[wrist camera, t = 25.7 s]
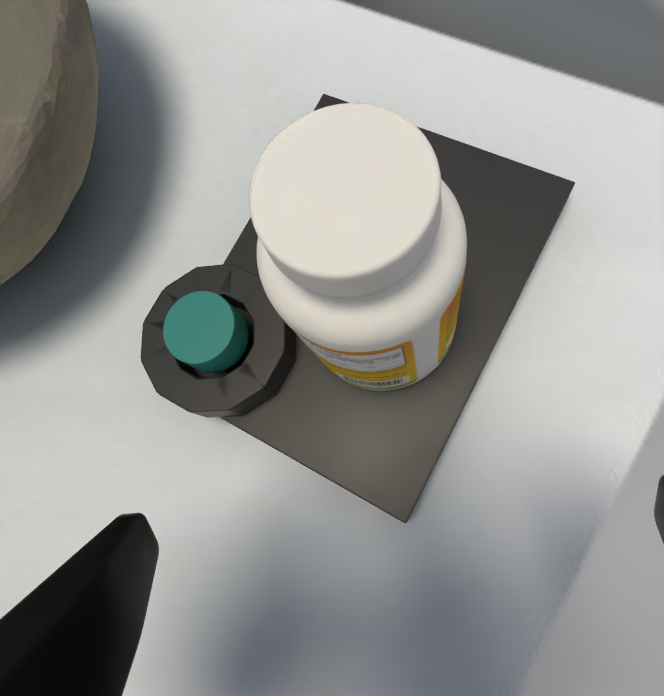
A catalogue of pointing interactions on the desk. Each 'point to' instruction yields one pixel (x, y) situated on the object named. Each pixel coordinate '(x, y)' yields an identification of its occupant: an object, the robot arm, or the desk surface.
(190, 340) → the button
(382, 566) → the desk surface
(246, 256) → the scale
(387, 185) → the supplement bottle
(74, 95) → the bowl
